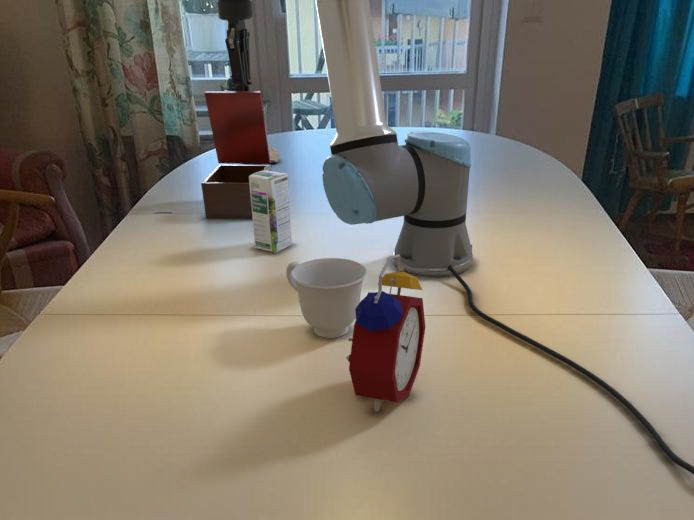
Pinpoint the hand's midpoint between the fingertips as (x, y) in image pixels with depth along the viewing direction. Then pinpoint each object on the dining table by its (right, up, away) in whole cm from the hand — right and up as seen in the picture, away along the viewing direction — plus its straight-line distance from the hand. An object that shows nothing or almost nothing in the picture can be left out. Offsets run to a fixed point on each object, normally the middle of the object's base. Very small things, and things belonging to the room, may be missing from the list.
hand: (245, 116), depth 173 cm
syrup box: (+9, -37, -21) cm, 44 cm away
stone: (0, +3, +33) cm, 33 cm away
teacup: (+20, -61, -51) cm, 82 cm away
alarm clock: (+28, -73, -68) cm, 104 cm away
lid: (-1, -6, -5) cm, 8 cm away
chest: (-1, -21, 0) cm, 21 cm away
